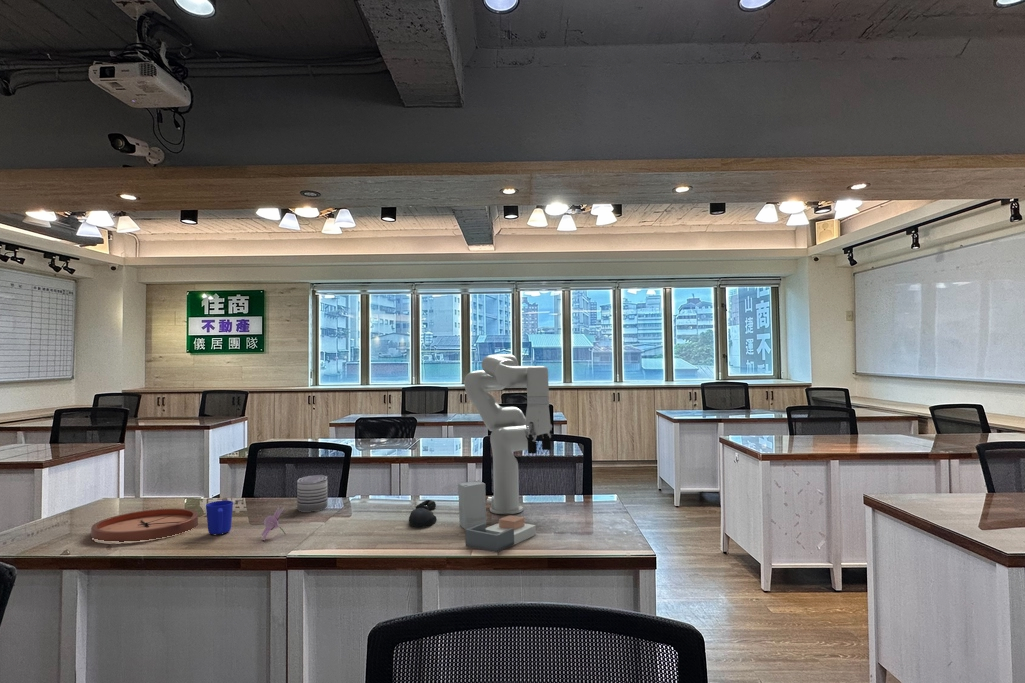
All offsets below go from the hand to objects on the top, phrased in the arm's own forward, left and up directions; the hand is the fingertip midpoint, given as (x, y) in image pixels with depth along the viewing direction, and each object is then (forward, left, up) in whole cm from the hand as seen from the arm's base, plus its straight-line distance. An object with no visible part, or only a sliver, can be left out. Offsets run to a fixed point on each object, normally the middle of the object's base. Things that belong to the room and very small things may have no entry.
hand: (539, 451), depth 205 cm
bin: (-2, -26, -25) cm, 37 cm away
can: (-89, -26, -26) cm, 96 cm away
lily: (-68, -58, -26) cm, 93 cm away
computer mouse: (-43, -12, -26) cm, 52 cm away
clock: (-113, -76, -26) cm, 139 cm away
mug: (-86, -65, -26) cm, 111 cm away
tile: (-2, -14, -22) cm, 27 cm away
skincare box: (-20, -12, -26) cm, 35 cm away
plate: (-2, -16, -25) cm, 30 cm away
